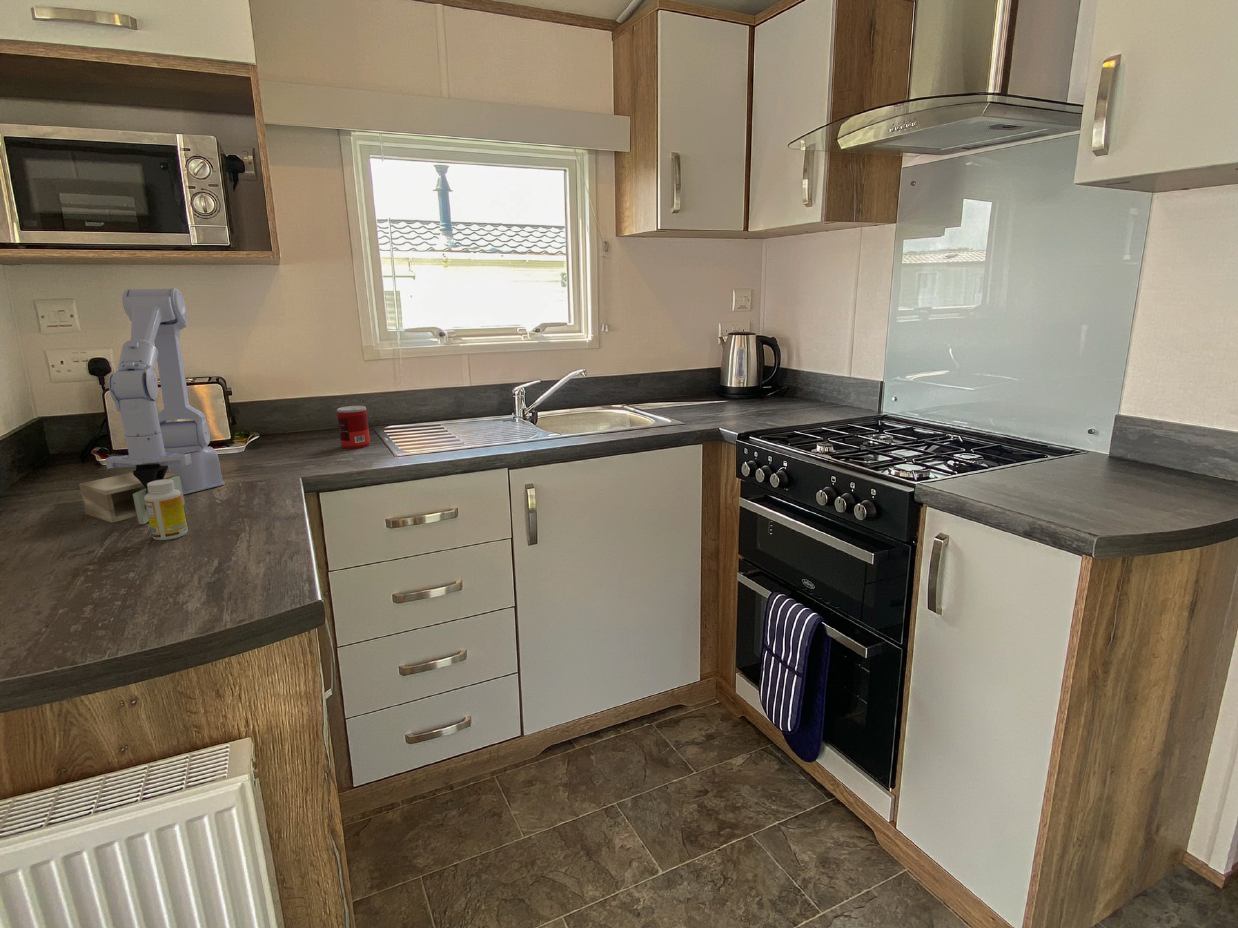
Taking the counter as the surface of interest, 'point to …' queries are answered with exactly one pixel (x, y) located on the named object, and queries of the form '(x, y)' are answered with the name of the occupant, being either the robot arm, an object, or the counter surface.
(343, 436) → the canned food
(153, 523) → the supplement bottle
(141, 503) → the door
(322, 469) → the counter surface
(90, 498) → the cabinet
